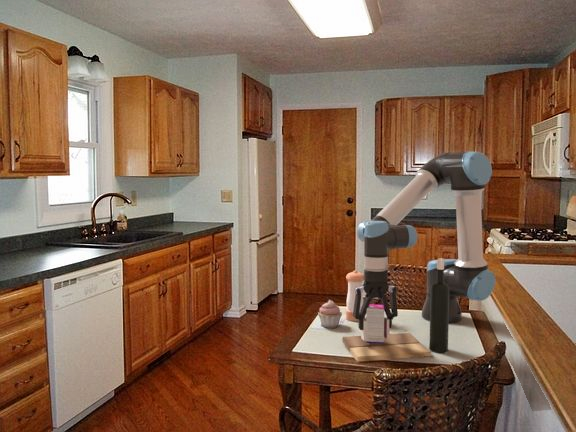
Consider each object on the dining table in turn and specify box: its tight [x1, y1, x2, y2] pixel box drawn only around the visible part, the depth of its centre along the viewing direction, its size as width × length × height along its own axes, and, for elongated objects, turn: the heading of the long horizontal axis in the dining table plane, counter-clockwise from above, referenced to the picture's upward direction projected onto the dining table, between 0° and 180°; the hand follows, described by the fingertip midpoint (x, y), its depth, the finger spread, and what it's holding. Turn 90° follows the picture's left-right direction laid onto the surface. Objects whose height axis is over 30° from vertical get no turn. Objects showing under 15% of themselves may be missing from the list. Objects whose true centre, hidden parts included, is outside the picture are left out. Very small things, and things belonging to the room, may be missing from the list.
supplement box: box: [365, 303, 385, 344], centre depth 167 cm, size 6×6×12 cm
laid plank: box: [349, 343, 432, 363], centre depth 163 cm, size 24×8×2 cm, turn 100°
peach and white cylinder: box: [345, 270, 364, 322], centre depth 202 cm, size 7×7×19 cm
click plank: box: [341, 332, 420, 353], centre depth 172 cm, size 24×8×2 cm, turn 100°
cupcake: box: [317, 299, 343, 329], centre depth 193 cm, size 9×9×10 cm
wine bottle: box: [428, 257, 449, 354], centre depth 166 cm, size 6×6×30 cm
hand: (375, 338), depth 168 cm, fingers closed on supplement box, 7 cm apart
